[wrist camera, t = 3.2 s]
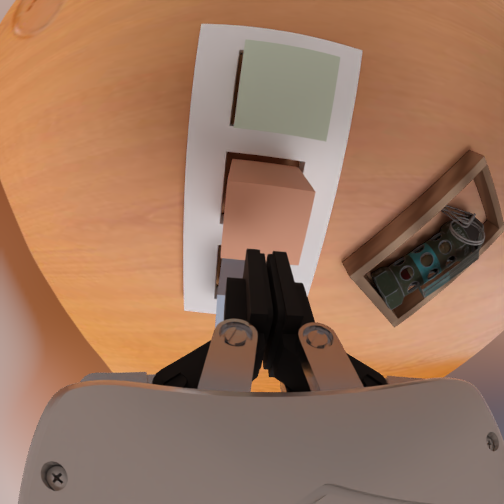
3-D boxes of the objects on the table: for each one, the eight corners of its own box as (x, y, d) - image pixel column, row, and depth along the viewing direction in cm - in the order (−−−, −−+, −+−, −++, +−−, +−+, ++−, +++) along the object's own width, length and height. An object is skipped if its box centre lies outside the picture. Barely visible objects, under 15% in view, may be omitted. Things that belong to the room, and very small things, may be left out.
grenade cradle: (469, 150, 21) (484, 156, 19) (493, 220, 25) (505, 229, 23) (342, 262, 28) (349, 276, 26) (387, 313, 32) (394, 327, 30)
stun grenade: (377, 289, 31) (466, 228, 27) (398, 329, 26) (497, 259, 21) (360, 255, 28) (460, 188, 23) (384, 297, 22) (497, 217, 18)
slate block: (223, 250, 24) (217, 294, 19) (280, 256, 25) (288, 300, 20) (219, 295, 27) (214, 342, 22) (271, 299, 27) (276, 346, 22)
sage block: (245, 56, 16) (245, 39, 11) (314, 67, 17) (340, 57, 12) (237, 120, 19) (233, 127, 14) (304, 129, 19) (326, 141, 14)
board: (205, 29, 17) (201, 23, 15) (353, 53, 17) (362, 50, 16) (187, 298, 30) (184, 310, 28) (297, 307, 31) (299, 320, 29)
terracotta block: (232, 158, 20) (227, 180, 15) (297, 167, 21) (315, 191, 16) (226, 218, 23) (220, 257, 18) (286, 225, 23) (298, 265, 18)
